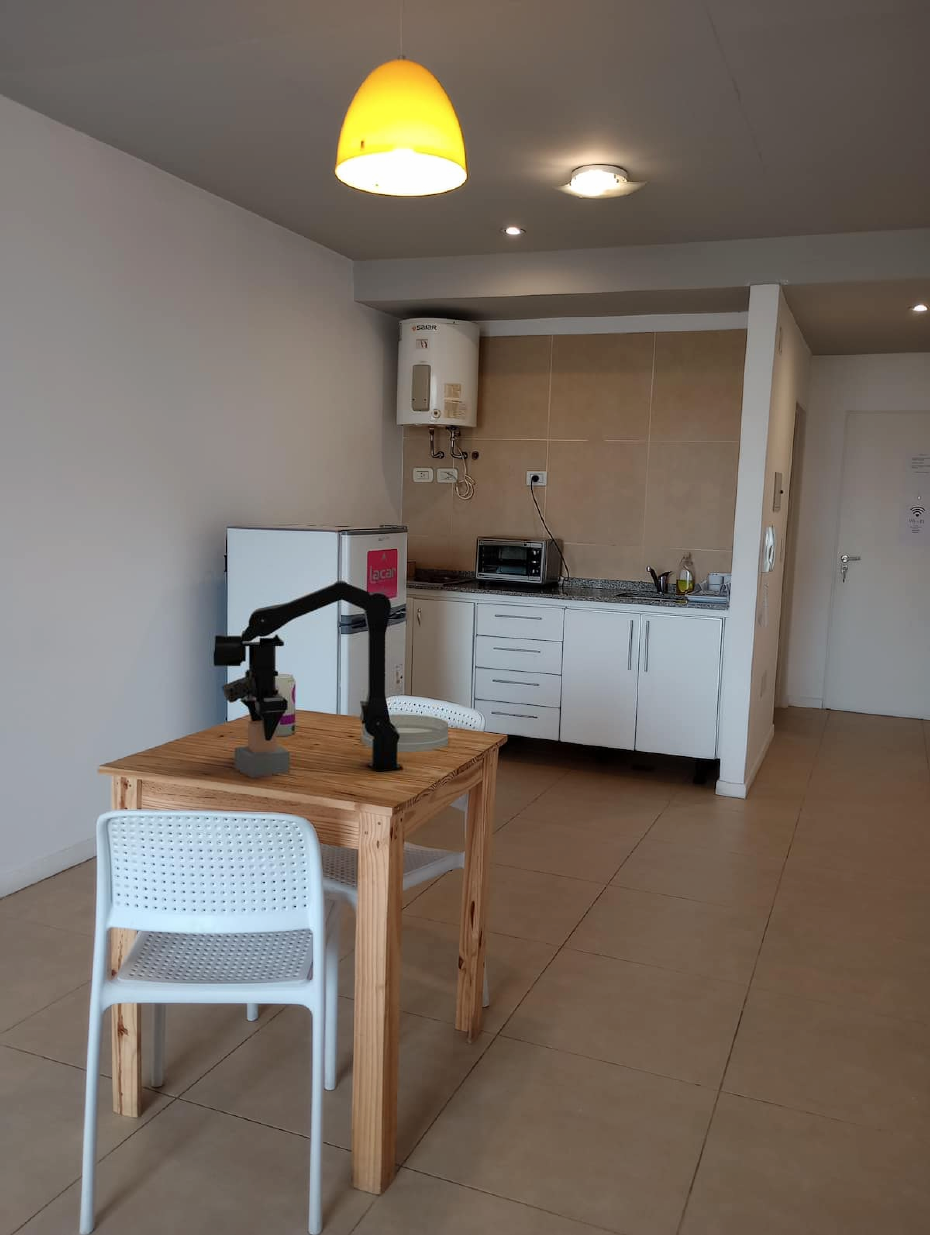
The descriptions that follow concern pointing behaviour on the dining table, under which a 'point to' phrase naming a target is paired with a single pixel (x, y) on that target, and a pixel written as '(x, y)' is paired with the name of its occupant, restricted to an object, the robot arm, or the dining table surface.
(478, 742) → the dining table surface
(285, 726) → the supplement can
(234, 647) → the robot arm
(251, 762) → the grey base block
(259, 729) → the terracotta block
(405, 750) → the dish
